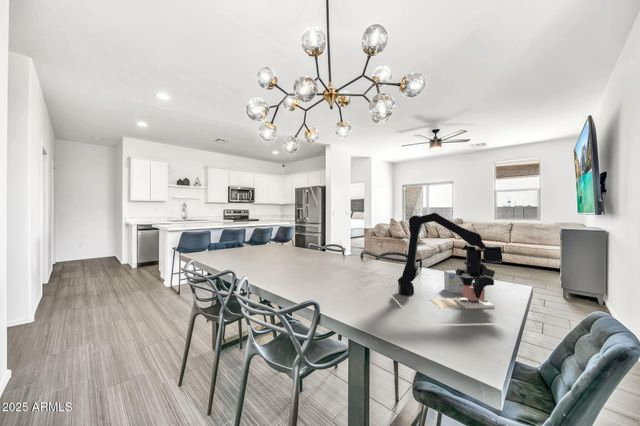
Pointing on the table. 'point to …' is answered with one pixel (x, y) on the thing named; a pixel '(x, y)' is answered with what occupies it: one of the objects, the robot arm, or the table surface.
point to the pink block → (472, 293)
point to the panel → (469, 304)
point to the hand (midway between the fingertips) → (473, 295)
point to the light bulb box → (452, 282)
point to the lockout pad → (446, 304)
